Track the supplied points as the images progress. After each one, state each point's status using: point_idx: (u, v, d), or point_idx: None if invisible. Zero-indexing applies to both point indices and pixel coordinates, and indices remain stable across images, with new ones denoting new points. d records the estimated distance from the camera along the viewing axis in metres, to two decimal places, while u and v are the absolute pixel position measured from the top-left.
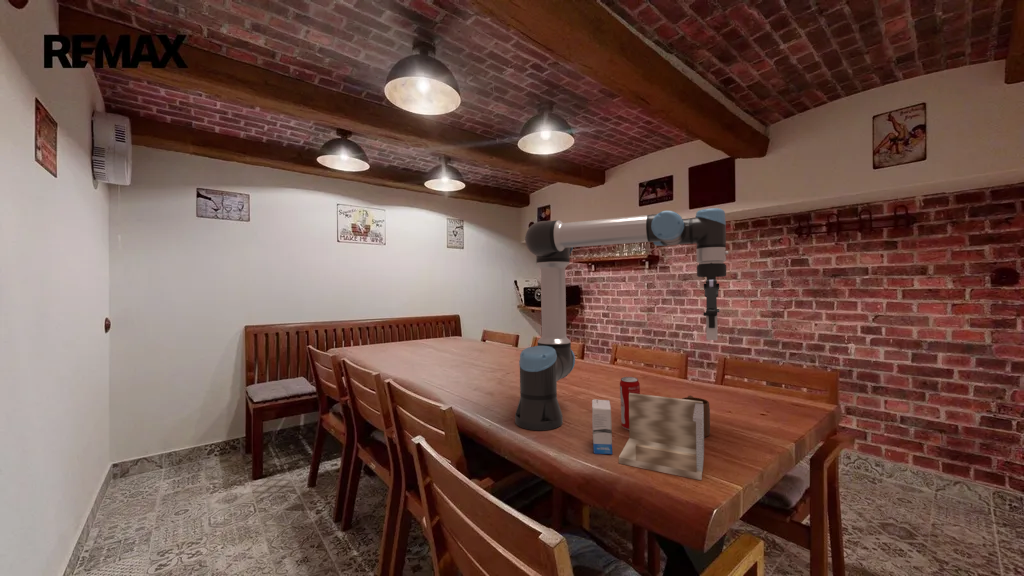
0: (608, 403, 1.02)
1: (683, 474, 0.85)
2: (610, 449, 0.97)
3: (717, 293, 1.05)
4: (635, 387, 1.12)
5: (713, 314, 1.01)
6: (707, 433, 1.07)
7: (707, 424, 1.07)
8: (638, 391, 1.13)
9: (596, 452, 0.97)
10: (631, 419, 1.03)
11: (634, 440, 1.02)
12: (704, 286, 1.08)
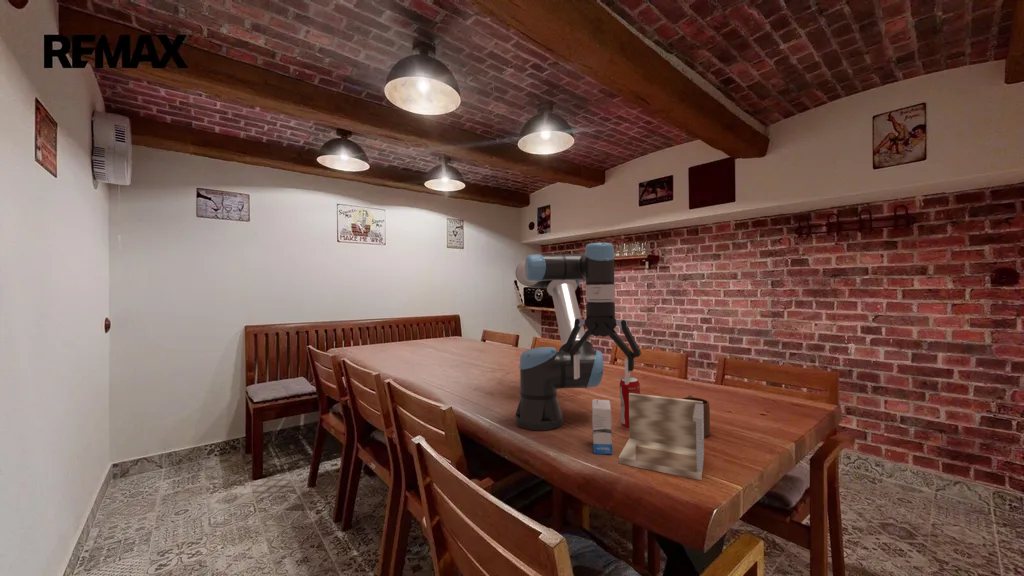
0: (608, 403, 1.02)
1: (683, 474, 0.85)
2: (610, 449, 0.97)
3: (584, 333, 1.02)
4: (635, 387, 1.12)
5: None
6: (707, 433, 1.07)
7: (707, 424, 1.07)
8: (638, 391, 1.13)
9: (596, 452, 0.97)
10: (631, 419, 1.03)
11: (634, 440, 1.02)
12: None
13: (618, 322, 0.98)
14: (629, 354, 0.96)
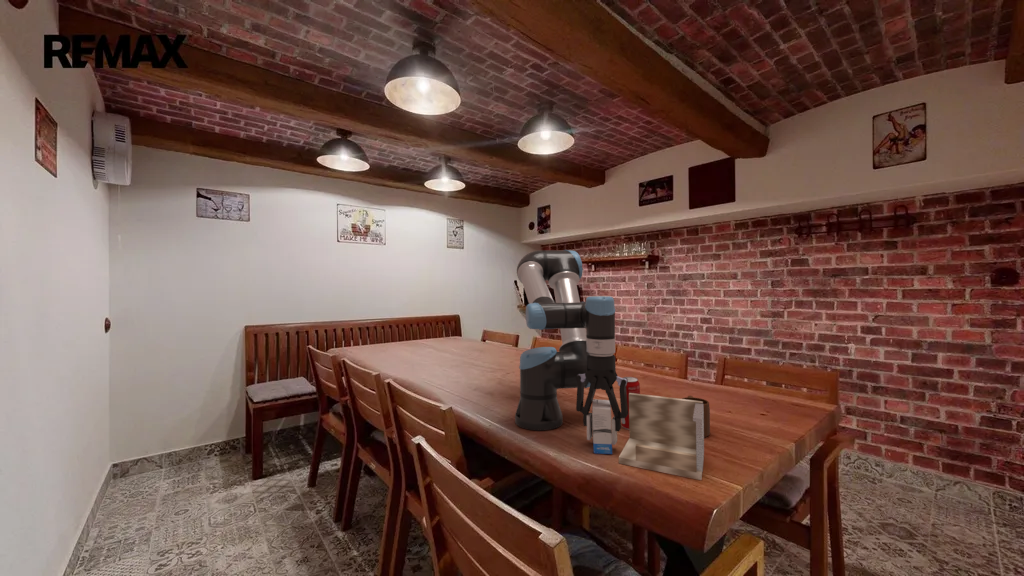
0: (608, 403, 1.02)
1: (683, 474, 0.85)
2: (610, 449, 0.97)
3: (589, 389, 1.01)
4: (635, 387, 1.12)
5: None
6: (707, 433, 1.07)
7: (707, 424, 1.07)
8: (638, 391, 1.13)
9: (596, 452, 0.97)
10: (631, 419, 1.03)
11: (634, 440, 1.02)
12: None
13: (618, 379, 0.99)
14: (617, 415, 0.98)
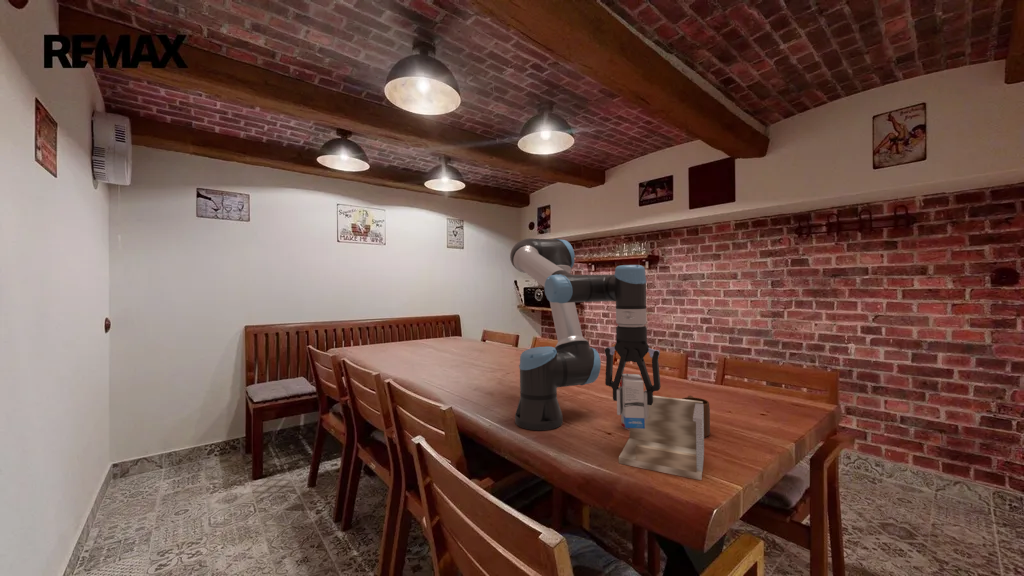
0: (639, 377, 0.98)
1: (683, 474, 0.85)
2: (642, 423, 0.93)
3: (619, 362, 0.97)
4: None
5: None
6: (707, 433, 1.07)
7: (707, 424, 1.07)
8: None
9: (628, 426, 0.93)
10: None
11: (634, 440, 1.02)
12: None
13: (650, 350, 0.95)
14: (649, 388, 0.94)
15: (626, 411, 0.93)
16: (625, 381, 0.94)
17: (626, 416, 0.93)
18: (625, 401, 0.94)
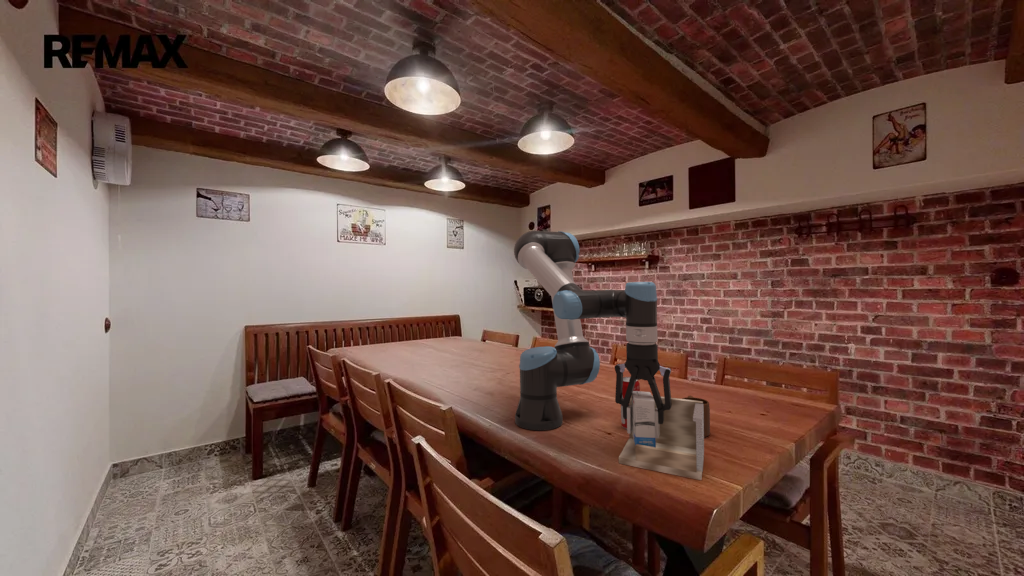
0: (650, 395, 0.97)
1: (683, 474, 0.85)
2: (653, 443, 0.91)
3: (629, 380, 0.96)
4: (635, 387, 1.12)
5: None
6: (707, 433, 1.07)
7: (707, 424, 1.07)
8: None
9: None
10: None
11: None
12: None
13: (662, 369, 0.93)
14: (660, 407, 0.93)
15: (637, 430, 0.92)
16: (636, 400, 0.93)
17: (637, 435, 0.92)
18: (636, 420, 0.92)
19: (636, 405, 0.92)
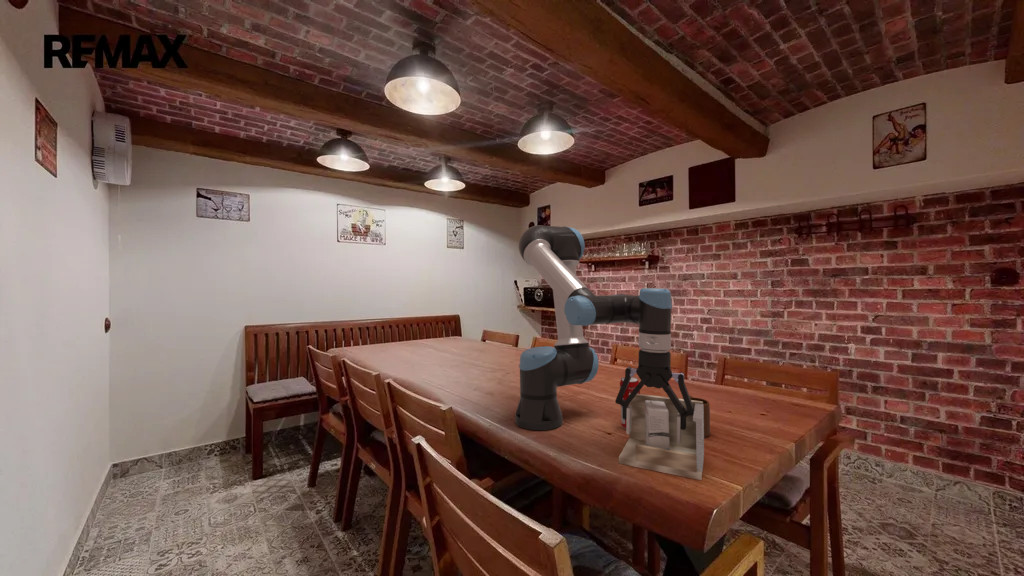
0: (663, 404, 0.95)
1: (683, 474, 0.85)
2: None
3: None
4: None
5: None
6: (707, 433, 1.07)
7: (707, 424, 1.07)
8: None
9: None
10: None
11: (634, 440, 1.02)
12: None
13: (674, 375, 0.92)
14: (682, 412, 0.91)
15: (650, 441, 0.91)
16: (649, 410, 0.91)
17: None
18: (649, 431, 0.91)
19: (650, 415, 0.91)
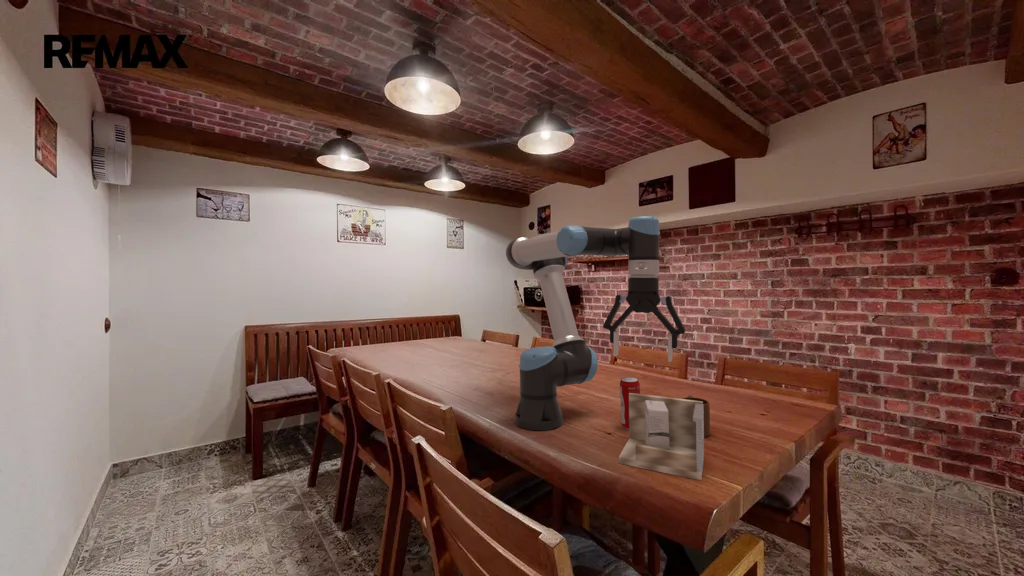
0: (663, 404, 0.95)
1: (683, 474, 0.85)
2: None
3: (626, 309, 0.99)
4: (635, 387, 1.12)
5: None
6: (707, 433, 1.07)
7: (707, 424, 1.07)
8: (638, 391, 1.13)
9: None
10: (631, 419, 1.03)
11: (634, 440, 1.02)
12: None
13: (662, 298, 0.96)
14: (673, 331, 0.94)
15: (650, 441, 0.91)
16: (649, 410, 0.91)
17: None
18: (649, 431, 0.91)
19: (650, 415, 0.91)
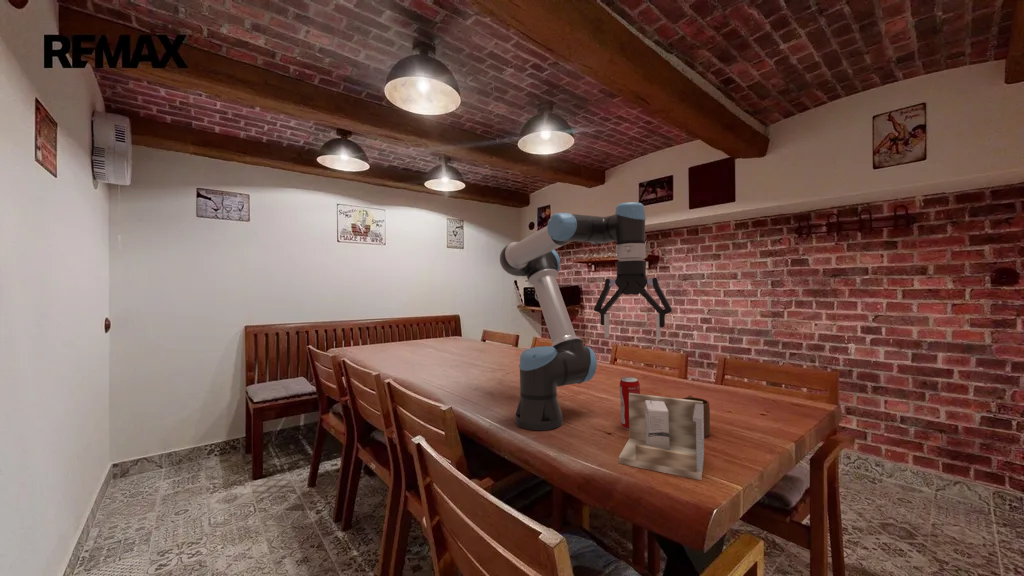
0: (663, 404, 0.95)
1: (683, 474, 0.85)
2: None
3: (615, 292, 1.04)
4: (635, 387, 1.12)
5: (597, 311, 1.07)
6: (707, 433, 1.07)
7: (707, 424, 1.07)
8: (638, 391, 1.13)
9: None
10: (631, 419, 1.03)
11: (634, 440, 1.02)
12: None
13: (649, 280, 1.00)
14: (660, 310, 0.98)
15: (650, 441, 0.91)
16: (649, 410, 0.91)
17: None
18: (649, 431, 0.91)
19: (650, 415, 0.91)
